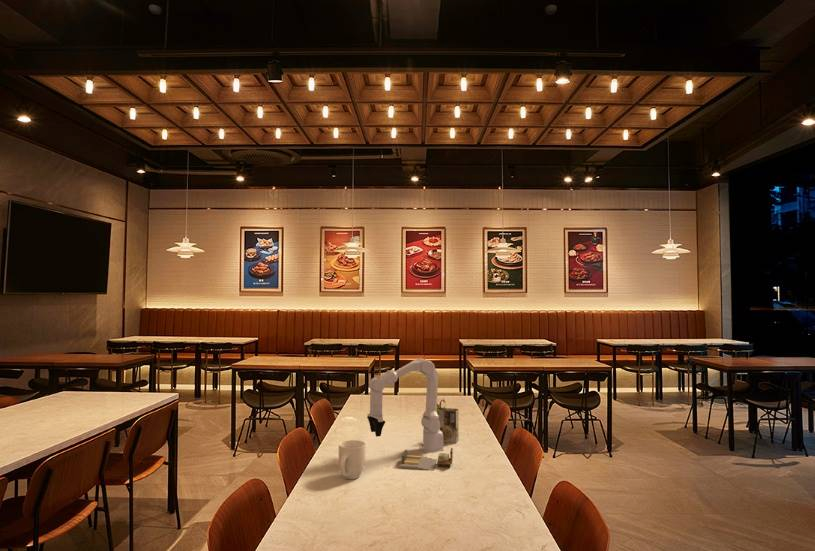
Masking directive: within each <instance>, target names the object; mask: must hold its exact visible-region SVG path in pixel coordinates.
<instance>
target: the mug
mask: <svg viewBox="0 0 815 551" xmlns="http://www.w3.org/2000/svg"><path fill="white" fill-rule="evenodd" d="M366 451H367V450H366V442H365V441H364V440H359V439H348V440H343V441H341V442H340V443H338V464H339V465H338V466H339V470H340V475H341V476H343V478H344V479H346V480H356V479H358V478H360V477H361V475H362V473H363V471H364V467H365V465H366Z"/></svg>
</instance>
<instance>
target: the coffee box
mask: <svg viewBox="0 0 815 551" xmlns="http://www.w3.org/2000/svg"><path fill="white" fill-rule="evenodd" d="M439 422H440V429H439V430H441V431H442V433H443V443H451V444H457V443H458V442H457V441H459V431H460V430H459V409H458V408H451V407H446V408H442V407H441V410H439Z"/></svg>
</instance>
